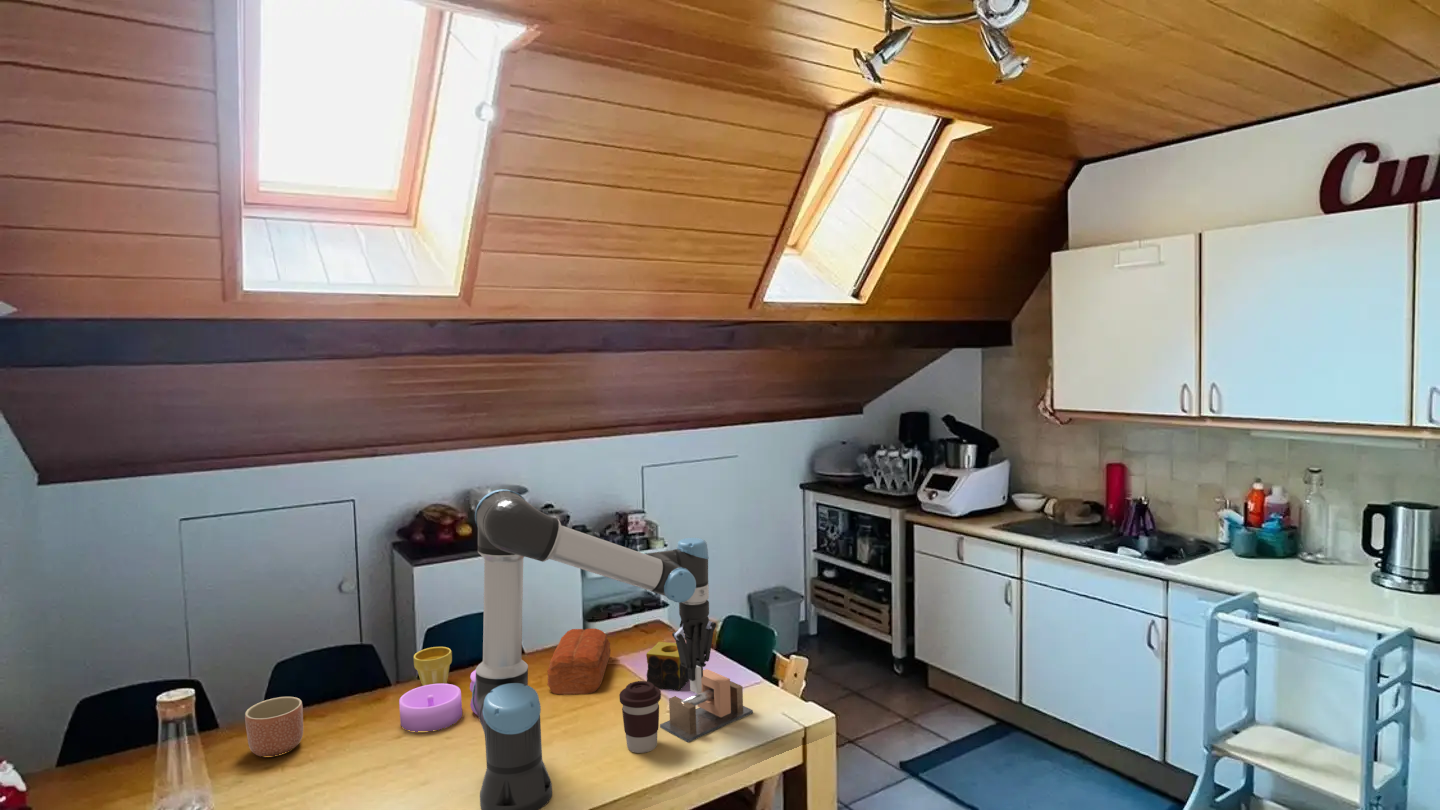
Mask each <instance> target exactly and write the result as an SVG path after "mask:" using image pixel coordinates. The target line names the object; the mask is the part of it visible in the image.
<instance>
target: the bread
mask: <svg viewBox="0 0 1440 810" xmlns="http://www.w3.org/2000/svg"><path fill="white" fill-rule="evenodd" d="M610 646H611V643H610V641H609V639H608V635H607V634H606V633H605V632H604V631H603V630H601V629H598V628H585V629H583V628H572V629H570V630H567V631H566V632H565V634H564V635H563V636H561V638H560V640H559V642H558V644H557V645H556V648H555V650H554V651H553V655H552V657H551V659H550V661H549V667H548V668H547V670H546V671H547V683H546V684H547V686H548V688H549V689H550V691H551V693H552V694H554V695H564V696H567V695H588V694H592V693H595V692H596V691H598V689H600V687H601V685H602V681H603V679H604V676H605V673H606V670H607V666H608V662H609V659H610V656H611V648H610Z"/></svg>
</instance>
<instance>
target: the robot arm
mask: <svg viewBox="0 0 1440 810" xmlns="http://www.w3.org/2000/svg"><path fill="white" fill-rule="evenodd" d="M474 521H475V524H476V527H477V553H478V554H479V555H480V556H481V557H482V558H483V559H484V560H483V561H484V567H483V569H484V571H483V572H484V575H483V576H484V577H483V623H482V624H483V631H482V633H483V635H482V640H483V642H482V661H481V662H480V663H478V665H477V666H476V668H475V670H476V681H475V684H474V687H473V692H471V693H472V694H471V699H472V701H473V706H474V708H475V711H476V712H477V714H478V715H477V717H478V719H479V722H480V724H481V728H482V731H483V733H484V741H485V758H486V759H485V760H486V761H485V762H486V769H485V773H484V777H483V780H482V785H481V789H480V792H479V805H480V809H481V810H541V809H542V808H544V807H546V805H547V804H548V803H549V802H550V800H551V798H552V796H553V785H552V780H551V777H550V775H549V772H548V770H547V768H546V765H545V763H544V761H543V750H542V749H543V747H542V745H543V744H542V728H541V710H542V709H541V707H542V706H541V702H540V698H539V695H538V692H537V690H536V689H534V688H533V687H531V686H530V685H529V665H528V663H527V662H526V661H524V660H523V659H522V654H523V653H522V651H523V649H522V648H523V647H522V645H523V641H522V640H523V602H524V600H523V595H524V594H523V591H524V558H528V559H532V560H536V561H539V562H542V563H543V562H544V563H545V562H546V561H548V560H552V561H554V562H558V563H561V564H563V565H567V566H571V567H574V568H577V569H580V570H583V571H586V572H590V573H592V574H596V575H599V576H603V577H605V578H609V579H610V580H611V579H612V580H616V581H618V582H620V583H625V584H627V585H631V586H634V587H637V588H639V589H643V590H646V591H650V592H652V593H655V594H657V595H661V596H665V597H666V598H667V599H668V600H669V601H673V602H674V603H678V608H679V609H678V613H679V617H680V624H679V628H678V630H677V631H673V632H672V633H671V634H672V637H673V639H674V640H675V643H676V645H677V649H678V653H679V658H680V662H681V665H682V666H684V667H686V668H688V679H689V680H688V681H689V688H690V689H689V690H690V691H691V692H693V693H695V694H698V693H700V692H702V685H701V678H702V677H703V670H704V669H703V668H704V667H706V666H707V663H706V662H709V661H710V659H711V658H710V657H711V649H712V645H713V644H712V643H713V638H714V636H713V635H714V632H715V629H716V627H717V623H716V622H714V621H711V620H710V619H709V615H710V601H709V597H710V596H709V595H710V594H709V593H710V591H709V590H710V589H709V549H708V543H707V542H706V540H704V539H702V538H699V537H685V538H681V539H680V540H678V541H677V546H676V549H670V550H664V551H655V552H654V551H653V552H645V553H643V552H640V551H637V550H634V549H632V548H629V547H627V546H626V547H625V546H622V545H620V544H617V543H614V542H611V541H608V540H605V539H602V538H599V537H596V536H594V535H590V534H588V533H585V532H581V531H579V530H576V529H573V528H570V527H567V526H565V525H562V523H561V521H560V519H559V518H555V517H552V516H551V515H548V514H546V513H544V512H542V511H540V510H539V509H537V508H536V507H534V506H533V505H532V504H530V503H529V502H528V501H527V500H526V499H525V498H524V496H522V495H521V494H520V493H518V492H516V491H513V490H509V489H503V488H501V489H496V490H492V491H490V492H488V493H487V494H485V495H484V496H483V497H482V498H481V499H480V500H479V501H478V504H477V506H476V508H475V512H474Z"/></svg>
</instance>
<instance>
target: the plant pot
mask: <svg viewBox="0 0 1440 810" xmlns="http://www.w3.org/2000/svg"><path fill="white" fill-rule="evenodd" d="M452 662H453V651H452V650H451V648H449V647H446V646H433V647H432V646H431V647H427V648H424V649H422V650H419V651H417V652H416V653H415V654H413V666H414V669H415V670H417V673H418V676H419V680H420V682H421V686H425V685H430V684H441V683H443V684H448V679H449V672H450V667H451V666H450V665H451V664H452Z"/></svg>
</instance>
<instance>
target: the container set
mask: <svg viewBox="0 0 1440 810" xmlns="http://www.w3.org/2000/svg"><path fill="white" fill-rule="evenodd" d="M469 678H470V681H471V682H470V684H469V690H470V692H471V693H472V692H473V687H474V684H475V681H476V669H474V670H473V671H472V672H471V673H470V677H469ZM398 703H399V704H398V705H399V718H400V719H399V720H400V727H401V726H402V727H403V728H404V729H406V730H410V731H415V732H418V731H433V730H438V731H440V730H439V729H441V730H443V729H442V728H444V729H446V727H447V728H449V727H451V726H453V725H454V723H455V724H456V723H458V722H459V721H460V720H461V718H462V717H463V707H462V706H463V705H462V703H463V702H462V691H461V688H460V687H459V686H457V685H455V684H452V683H451V684H450V683H447V684H443V683H441V684H430V685H425V686H422V685H421V686H417V687H416V688H412V689H410V690H408V691H407V692H405V693H403V695H401V697H400V698H399V700H398ZM469 706H470V709H471V711H472V712H473V714H475V715H476V716H478V714H477V712H476V711H475V708H474V706H473V701H472V698H471V700H470V705H469ZM459 719H460V720H459ZM458 720H459V721H458ZM457 721H458V722H457ZM452 724H453V725H452ZM450 725H451V726H450ZM402 727H401V728H402ZM403 728H402V729H403ZM404 729H403V730H404ZM406 730H405V731H406ZM433 732H434V731H433Z"/></svg>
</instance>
